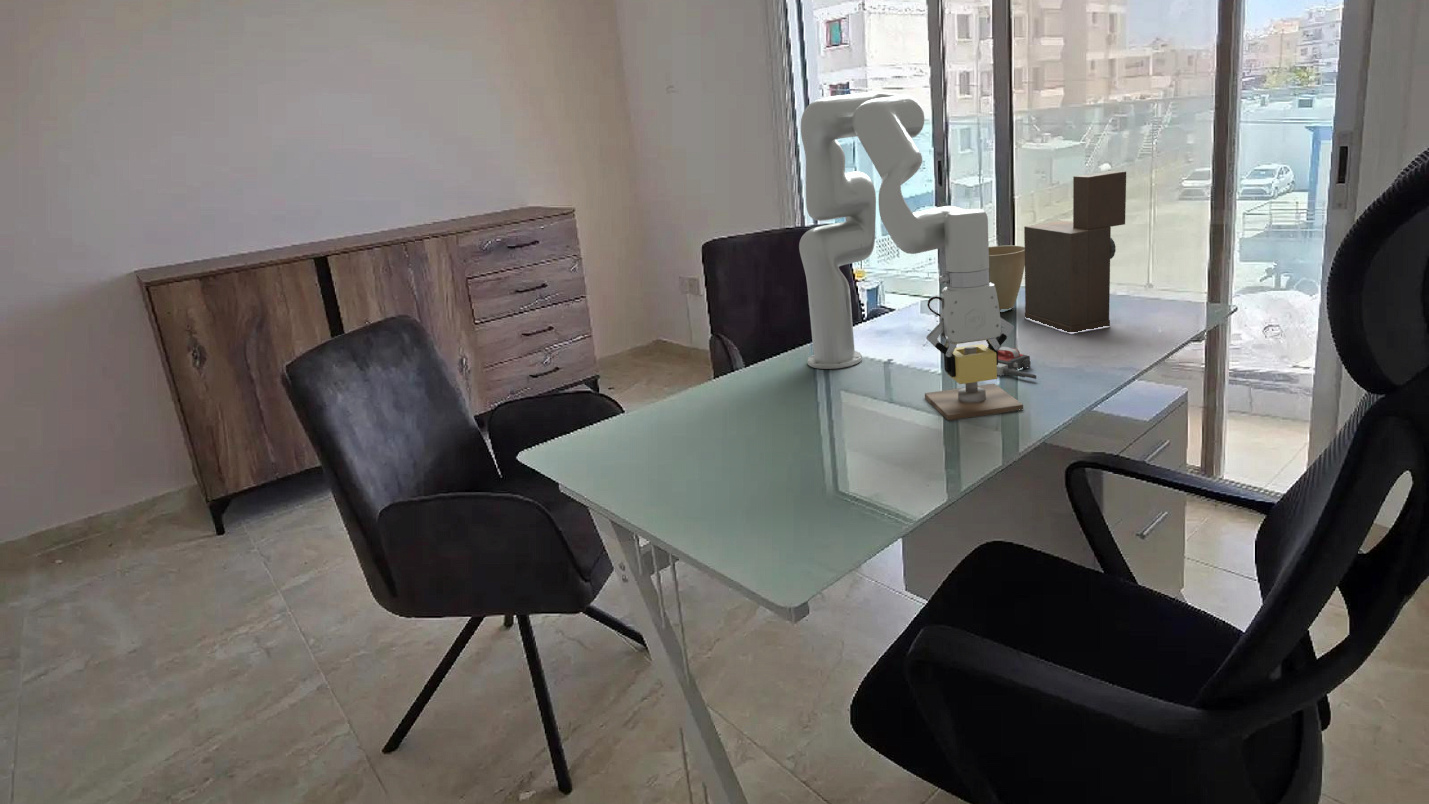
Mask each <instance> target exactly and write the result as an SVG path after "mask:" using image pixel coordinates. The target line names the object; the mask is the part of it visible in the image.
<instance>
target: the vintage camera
mask: <svg viewBox="0 0 1429 804" xmlns="http://www.w3.org/2000/svg"><path fill="white" fill-rule="evenodd" d="M1072 177H1073V185H1072V186H1073V187H1072V188H1073V189H1072V190H1073V193H1072V194H1073V196H1072V197H1073V199H1072V200H1073V203H1072V205H1073V206H1072V207H1073V209H1072V217H1073V219H1072V221H1068V220H1058V221H1051V222H1044V223H1038V224H1033V225H1026V226H1024V227H1023V229H1024V230H1023V232H1024V235H1023V236H1024V245H1023V246H1024V247H1025V267H1024V296H1025V297H1024V298H1025V300H1024V304H1025V305H1024V307H1025V308H1024V310H1025V312H1024V318H1025V317H1026V318H1030V319H1032V320H1035V321H1039V322H1041V323H1043V324H1047V325H1049V326H1053V327H1055V328H1057V329H1062V330H1064V331H1067V332H1078V331H1082V330H1086V329H1094V328H1098V327H1103V326H1110V327H1111V319H1110V295H1111V294H1110V293H1111V292H1110V291H1111V260H1112V258H1114V257H1115V255H1116V254H1115V253H1116V249H1117V248H1116V247H1117V246H1116V243H1115V241H1114V239H1113V237H1111V236H1112V235H1111V234H1112V233H1111V229H1112V228H1111V227H1117V226H1123V225H1126V210H1127V209H1126V204H1127V203H1126V202H1127V199H1126V197H1127V170H1126V171H1123V170H1122V171H1121V170H1107V171H1101V172H1093V173H1087V174H1082V175H1074V176H1072Z"/></svg>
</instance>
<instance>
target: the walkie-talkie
mask: <svg viewBox="0 0 1429 804" xmlns="http://www.w3.org/2000/svg"><path fill="white" fill-rule="evenodd" d="M1031 364H1032V363H1031V356H1030V355H1027V354H1023V353H1020V350H1019V349H1017V348H1011V347H1008V346H1000V349H999V350H998V365H997V376H999V375H1000V376H999V377H1002V376H1001V375H1003V374H1006V375H1008V376H1009V375H1011V376H1016V377H1020V378H1030V379H1033V380H1034V379H1035V380H1036V379H1037V375H1035V374H1033V373H1028V372H1025V371H1021V370H1020V371H1016V370H1017V368H1018V369H1020V368H1022V367H1023V368H1027V367H1029V368H1031ZM1003 376H1004V375H1003Z"/></svg>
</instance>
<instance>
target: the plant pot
mask: <svg viewBox="0 0 1429 804" xmlns="http://www.w3.org/2000/svg"><path fill="white" fill-rule="evenodd" d="M1024 273H1025V246H1024V245H1023V246H1022V245H994V246H989V277H990V283H993V284H994V285H995V288H996V292H997V298H998V304H999V310H1001V309H1009V308H1012V307H1013V306H1014V307H1015V304H1016V302H1017V299H1018V296H1019V292H1020V289H1021V285H1022V281H1023V277H1024ZM1014 307H1013V308H1014Z"/></svg>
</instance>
